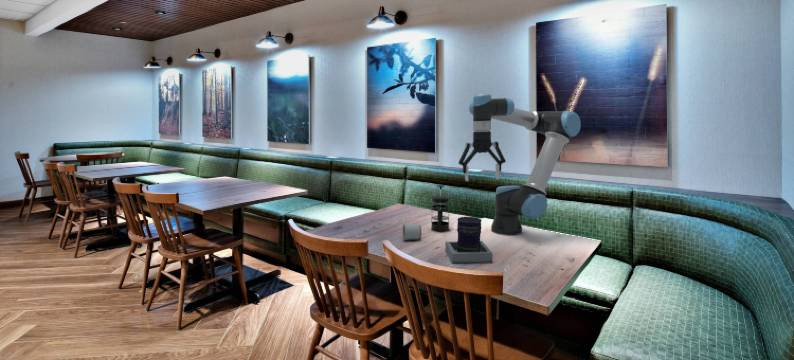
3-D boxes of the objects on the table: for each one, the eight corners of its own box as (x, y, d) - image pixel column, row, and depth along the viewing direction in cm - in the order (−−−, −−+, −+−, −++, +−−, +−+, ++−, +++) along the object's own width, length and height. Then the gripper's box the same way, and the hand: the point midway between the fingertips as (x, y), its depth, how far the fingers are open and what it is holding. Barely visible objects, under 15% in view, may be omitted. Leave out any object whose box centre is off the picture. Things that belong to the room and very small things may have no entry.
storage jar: (454, 250, 177) (455, 216, 175) (477, 250, 178) (478, 216, 175) (459, 258, 167) (460, 222, 165) (483, 258, 168) (484, 222, 165)
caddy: (481, 249, 181) (482, 240, 180) (492, 262, 165) (492, 252, 164) (445, 250, 180) (445, 241, 179) (452, 263, 164) (452, 253, 164)
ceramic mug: (421, 241, 193) (422, 225, 192) (404, 242, 192) (404, 225, 191) (418, 235, 204) (418, 220, 203) (401, 235, 203) (401, 220, 202)
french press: (431, 226, 219) (432, 183, 216) (449, 227, 218) (450, 183, 214) (429, 232, 208) (430, 187, 204) (448, 233, 206) (449, 187, 203)
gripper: (455, 132, 173) (455, 182, 176) (513, 130, 175) (513, 179, 178) (451, 131, 180) (452, 179, 184) (507, 129, 182) (506, 177, 186)
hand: (482, 180), depth 181 cm, fingers open, 13 cm apart
